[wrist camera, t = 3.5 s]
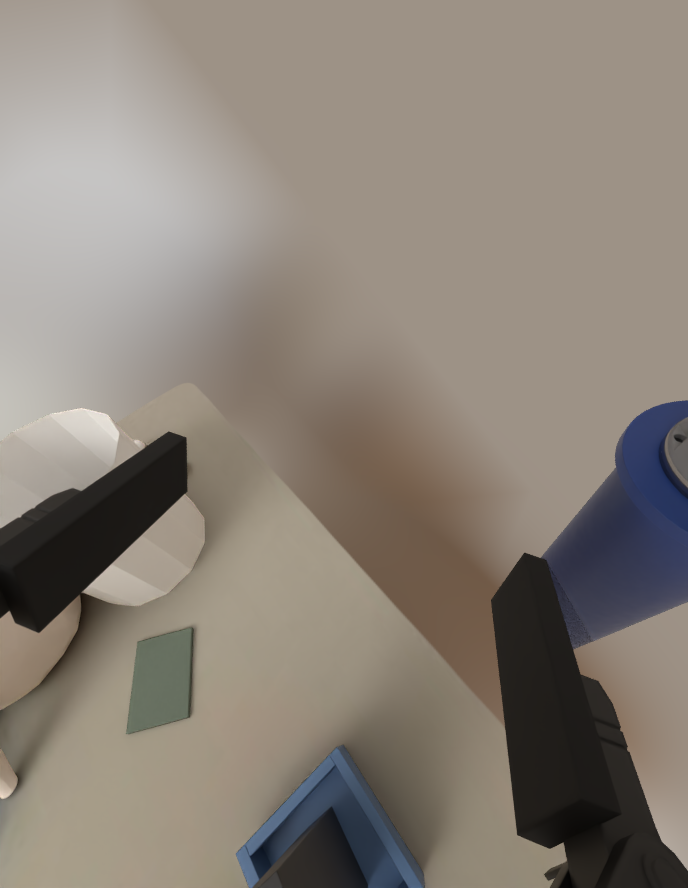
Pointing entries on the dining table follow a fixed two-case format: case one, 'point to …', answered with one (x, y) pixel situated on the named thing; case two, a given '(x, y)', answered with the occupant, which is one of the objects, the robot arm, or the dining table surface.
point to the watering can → (30, 665)
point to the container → (77, 466)
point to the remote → (317, 860)
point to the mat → (161, 681)
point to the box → (359, 814)
